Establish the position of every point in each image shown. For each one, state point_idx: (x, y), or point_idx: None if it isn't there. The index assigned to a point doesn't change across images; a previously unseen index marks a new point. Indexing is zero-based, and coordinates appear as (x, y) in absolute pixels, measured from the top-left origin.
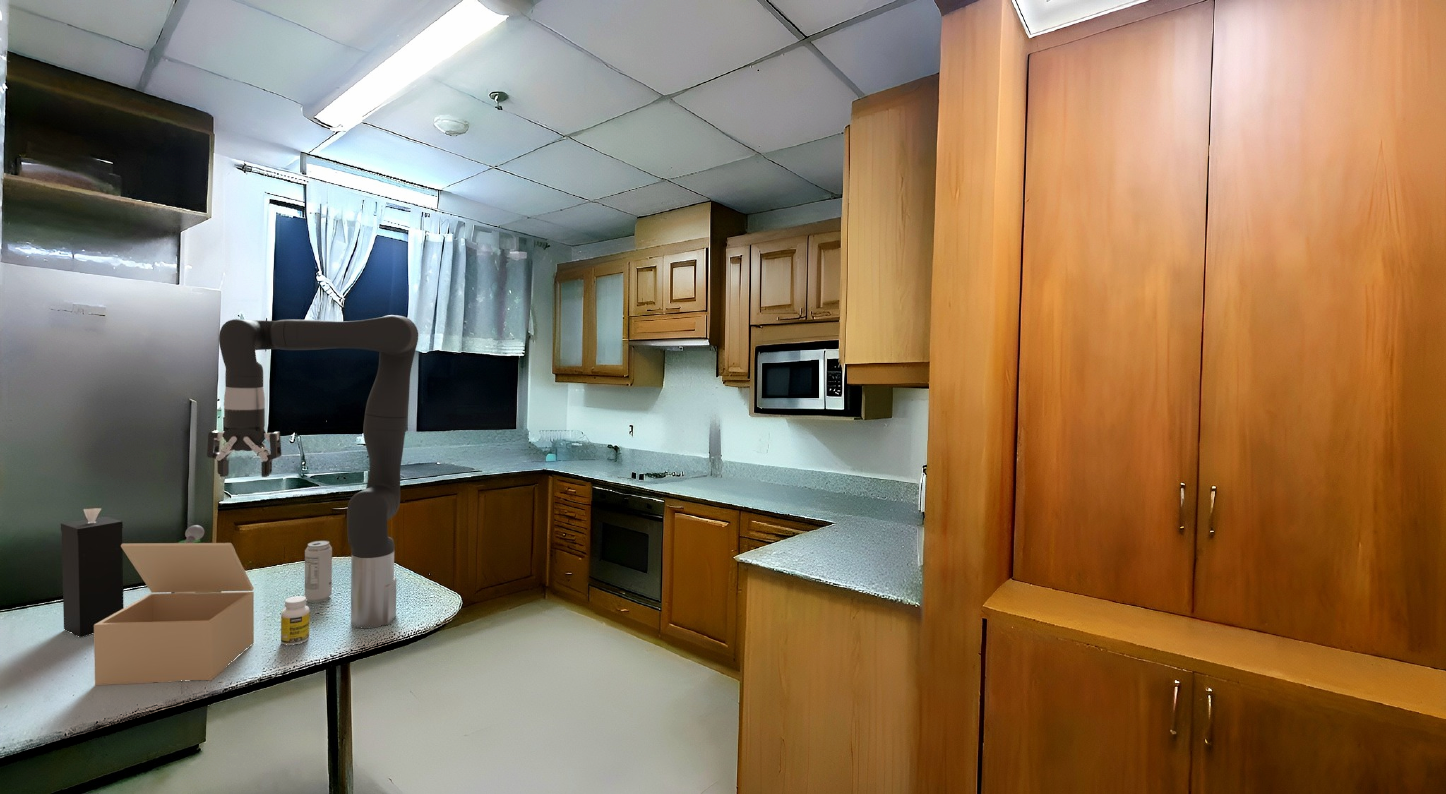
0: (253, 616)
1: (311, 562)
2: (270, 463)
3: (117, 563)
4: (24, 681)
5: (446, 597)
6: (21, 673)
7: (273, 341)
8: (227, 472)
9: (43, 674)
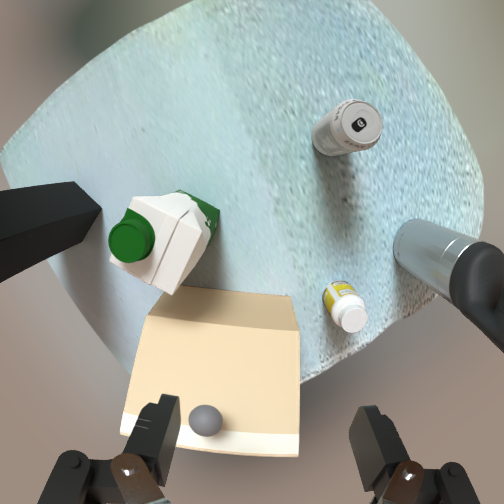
0: (294, 313)
1: (344, 150)
2: (400, 458)
3: (46, 229)
4: (107, 338)
5: (480, 180)
6: (92, 321)
7: None
8: (175, 410)
9: (111, 328)
